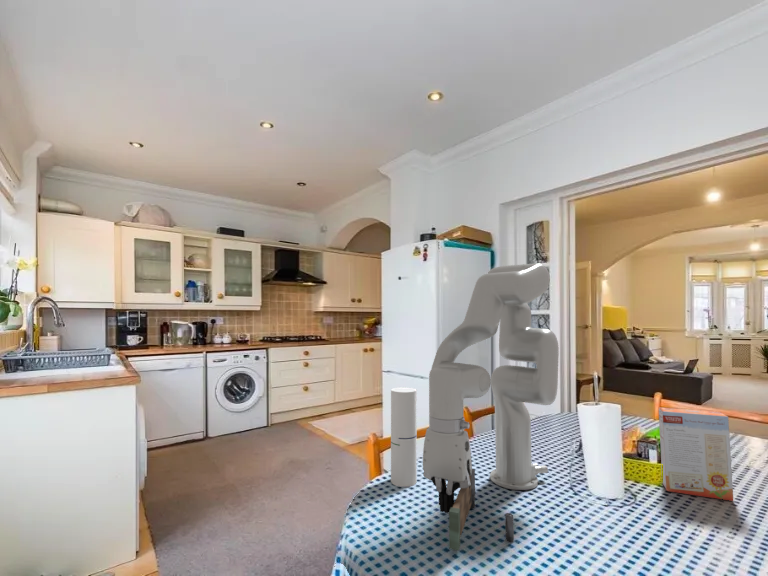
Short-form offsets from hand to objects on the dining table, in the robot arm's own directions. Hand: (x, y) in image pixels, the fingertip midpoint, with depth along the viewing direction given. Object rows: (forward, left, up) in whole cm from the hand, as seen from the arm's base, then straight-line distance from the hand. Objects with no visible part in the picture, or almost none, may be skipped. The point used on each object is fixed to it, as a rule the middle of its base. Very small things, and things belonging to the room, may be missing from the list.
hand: (446, 509), depth 86 cm
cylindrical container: (+3, -25, -4) cm, 25 cm away
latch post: (-11, +7, -4) cm, 14 cm away
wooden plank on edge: (-3, +2, -3) cm, 4 cm away
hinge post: (-9, -8, -4) cm, 12 cm away
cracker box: (-70, -3, -4) cm, 70 cm away
